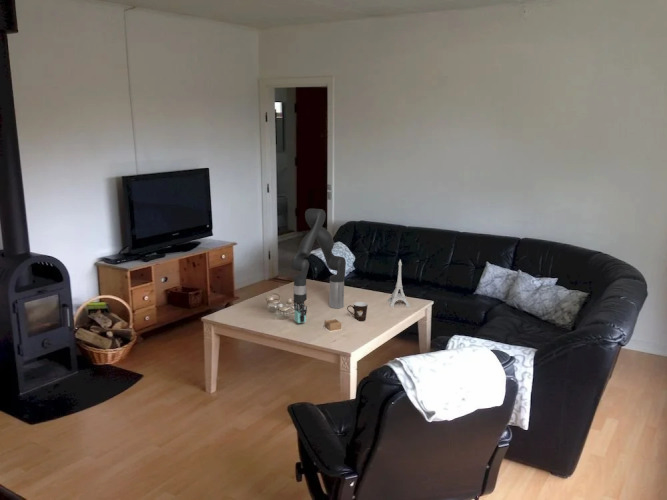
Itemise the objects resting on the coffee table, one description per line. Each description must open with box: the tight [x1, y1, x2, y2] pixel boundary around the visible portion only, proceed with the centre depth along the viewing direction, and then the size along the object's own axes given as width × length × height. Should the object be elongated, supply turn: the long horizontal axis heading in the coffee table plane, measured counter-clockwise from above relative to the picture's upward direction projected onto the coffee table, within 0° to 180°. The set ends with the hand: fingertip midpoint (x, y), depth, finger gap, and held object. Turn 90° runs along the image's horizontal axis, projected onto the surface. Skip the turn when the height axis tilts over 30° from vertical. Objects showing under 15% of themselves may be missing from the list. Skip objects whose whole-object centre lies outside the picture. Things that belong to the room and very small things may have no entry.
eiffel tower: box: [386, 259, 411, 308], centre depth 393 cm, size 13×13×30 cm
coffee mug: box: [346, 301, 369, 322], centre depth 364 cm, size 12×9×10 cm
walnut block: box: [324, 319, 342, 332], centre depth 344 cm, size 7×7×4 cm
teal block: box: [294, 310, 307, 324], centre depth 350 cm, size 5×5×6 cm
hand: (300, 319), depth 351 cm, fingers closed on teal block, 5 cm apart
